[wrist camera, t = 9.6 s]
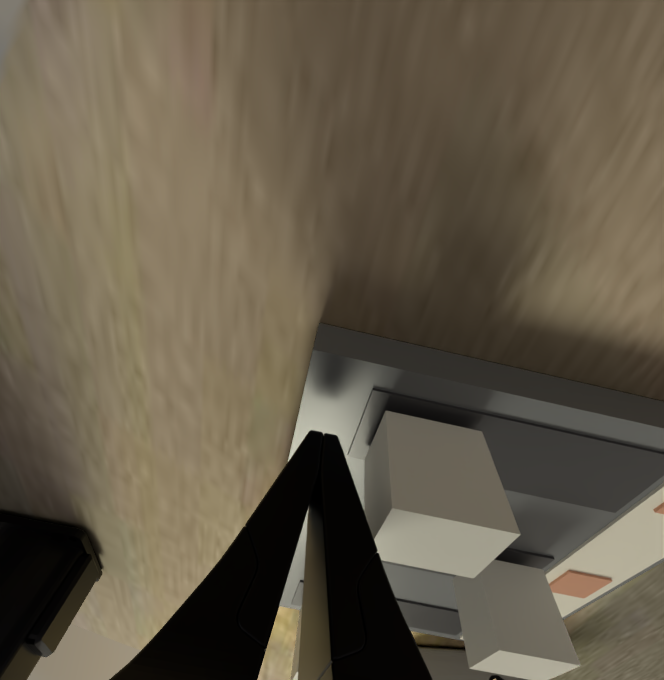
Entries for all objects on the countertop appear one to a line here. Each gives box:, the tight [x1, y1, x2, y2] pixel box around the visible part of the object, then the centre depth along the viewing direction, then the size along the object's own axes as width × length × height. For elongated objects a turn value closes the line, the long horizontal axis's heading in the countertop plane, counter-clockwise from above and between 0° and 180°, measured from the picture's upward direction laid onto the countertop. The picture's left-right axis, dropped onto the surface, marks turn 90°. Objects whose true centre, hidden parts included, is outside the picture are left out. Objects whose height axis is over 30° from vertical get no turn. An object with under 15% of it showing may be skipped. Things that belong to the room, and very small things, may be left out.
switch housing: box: [279, 323, 664, 641], centre depth 16 cm, size 16×19×2 cm
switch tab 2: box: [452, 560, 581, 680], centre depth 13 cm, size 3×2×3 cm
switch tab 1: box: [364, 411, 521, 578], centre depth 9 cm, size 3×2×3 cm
